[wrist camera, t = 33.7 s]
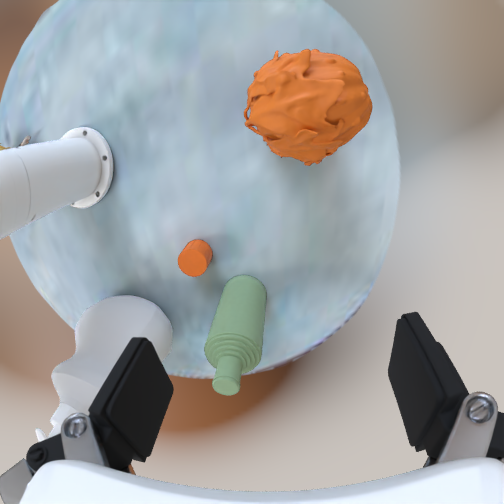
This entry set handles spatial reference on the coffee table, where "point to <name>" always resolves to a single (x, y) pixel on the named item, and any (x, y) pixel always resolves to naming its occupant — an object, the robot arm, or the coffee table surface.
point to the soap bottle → (104, 350)
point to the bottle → (236, 332)
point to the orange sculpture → (307, 104)
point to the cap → (195, 258)
